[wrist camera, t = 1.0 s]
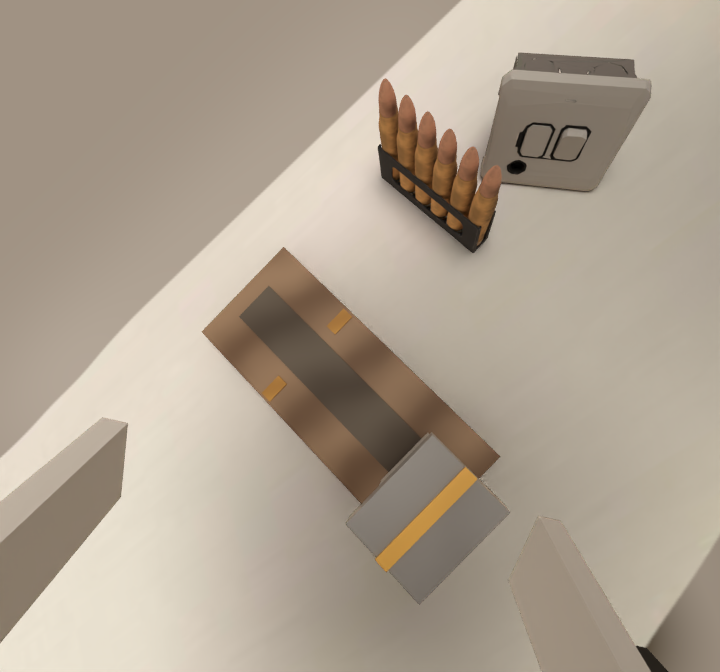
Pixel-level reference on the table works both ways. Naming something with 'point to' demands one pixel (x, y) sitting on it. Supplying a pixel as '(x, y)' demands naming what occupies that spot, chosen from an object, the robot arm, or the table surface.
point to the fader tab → (426, 517)
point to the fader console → (335, 378)
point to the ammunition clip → (435, 171)
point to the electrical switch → (563, 119)
